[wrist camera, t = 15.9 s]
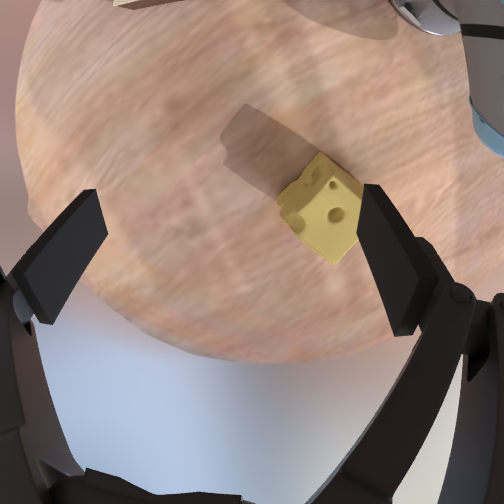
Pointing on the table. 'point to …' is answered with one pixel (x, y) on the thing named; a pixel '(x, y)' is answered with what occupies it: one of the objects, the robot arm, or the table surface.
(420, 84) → the table surface
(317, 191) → the cheese
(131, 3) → the split beige slab
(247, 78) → the table surface
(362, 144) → the table surface
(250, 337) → the table surface
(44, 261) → the robot arm
